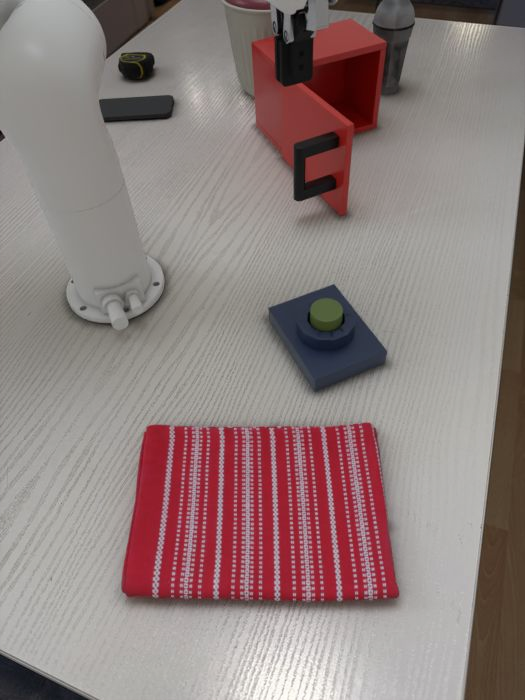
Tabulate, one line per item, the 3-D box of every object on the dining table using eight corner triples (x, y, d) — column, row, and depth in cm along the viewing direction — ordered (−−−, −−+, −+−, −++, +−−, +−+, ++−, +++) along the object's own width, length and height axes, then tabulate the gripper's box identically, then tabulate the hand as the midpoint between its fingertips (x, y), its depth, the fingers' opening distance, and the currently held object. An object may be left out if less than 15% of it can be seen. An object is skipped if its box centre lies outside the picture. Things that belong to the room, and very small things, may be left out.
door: (302, 230, 77) (303, 140, 66) (247, 169, 88) (241, 83, 77) (346, 214, 79) (354, 123, 68) (287, 156, 89) (286, 70, 79)
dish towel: (149, 429, 57) (144, 416, 55) (375, 428, 56) (378, 414, 54) (119, 602, 46) (111, 593, 44) (398, 605, 45) (403, 596, 43)
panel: (385, 363, 61) (389, 340, 58) (314, 392, 59) (315, 370, 56) (333, 296, 69) (335, 272, 65) (268, 320, 67) (267, 296, 63)
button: (347, 325, 61) (349, 314, 59) (319, 336, 60) (319, 325, 58) (332, 304, 63) (332, 294, 61) (304, 315, 62) (304, 304, 61)
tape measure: (157, 67, 114) (153, 48, 111) (151, 82, 109) (147, 63, 106) (125, 68, 114) (120, 49, 111) (118, 83, 110) (113, 64, 107)
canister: (340, 90, 103) (349, -42, 87) (262, 121, 97) (255, -15, 81) (285, 59, 113) (283, -65, 97) (210, 85, 107) (195, -42, 91)
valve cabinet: (376, 128, 94) (387, 41, 83) (282, 155, 90) (281, 68, 79) (344, 101, 100) (350, 18, 90) (256, 126, 96) (251, 41, 86)
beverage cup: (357, 90, 103) (369, -34, 87) (380, 77, 106) (394, -46, 91) (390, 102, 100) (407, -25, 84) (412, 87, 103) (433, -38, 87)
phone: (96, 99, 104) (173, 94, 103) (97, 103, 105) (174, 98, 104) (88, 118, 99) (169, 113, 99) (90, 122, 100) (170, 118, 99)
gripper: (206, -190, 42) (228, 60, 56) (292, -165, 33) (293, 124, 47) (293, -201, 43) (294, 44, 58) (398, -181, 35) (368, 103, 49)
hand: (293, 80), depth 52 cm, fingers closed
